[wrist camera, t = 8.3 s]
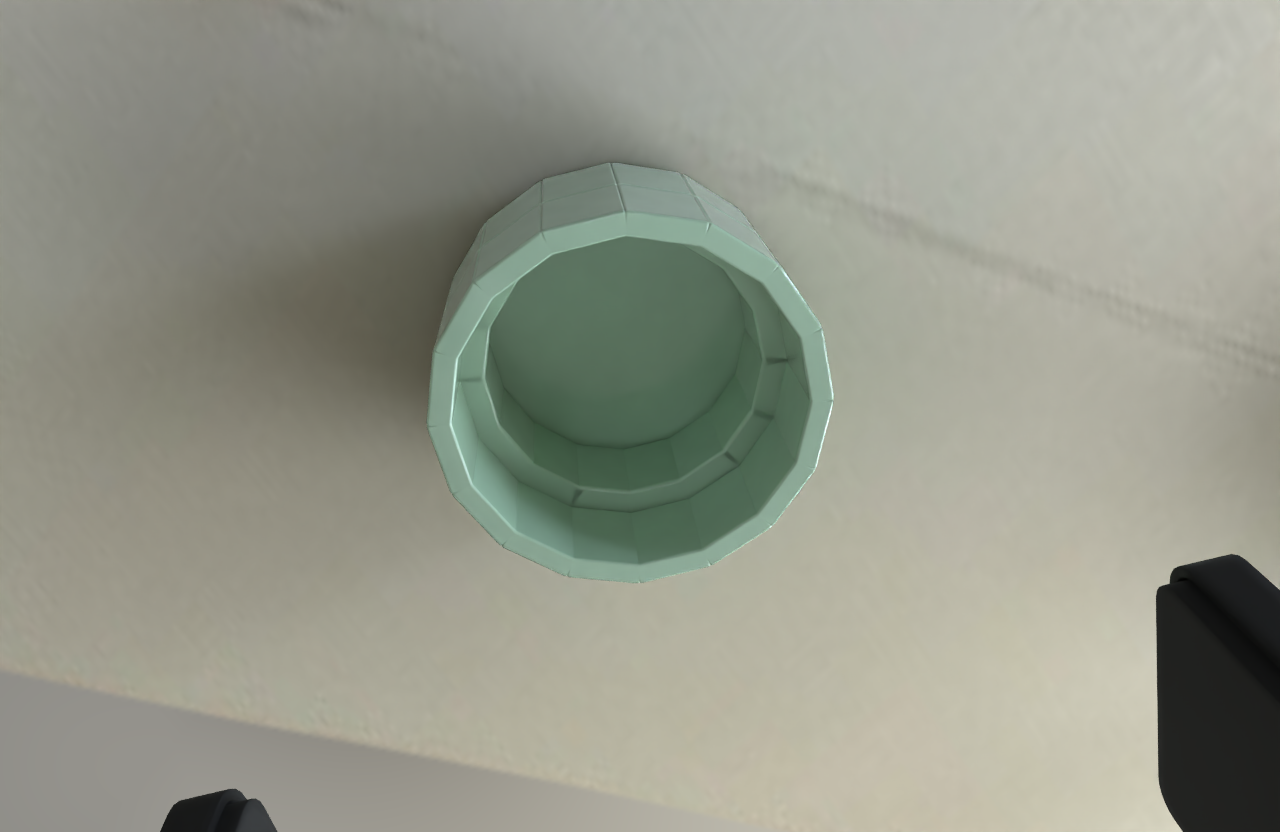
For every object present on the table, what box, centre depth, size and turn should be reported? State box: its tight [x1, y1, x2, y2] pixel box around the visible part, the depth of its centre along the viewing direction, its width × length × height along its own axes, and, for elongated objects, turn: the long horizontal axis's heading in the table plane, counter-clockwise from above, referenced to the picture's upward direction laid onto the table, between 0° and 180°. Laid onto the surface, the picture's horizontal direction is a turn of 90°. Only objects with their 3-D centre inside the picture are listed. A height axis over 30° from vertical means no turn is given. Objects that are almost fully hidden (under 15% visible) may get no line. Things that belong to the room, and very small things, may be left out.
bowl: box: [426, 163, 834, 583], centre depth 21 cm, size 7×7×5 cm
